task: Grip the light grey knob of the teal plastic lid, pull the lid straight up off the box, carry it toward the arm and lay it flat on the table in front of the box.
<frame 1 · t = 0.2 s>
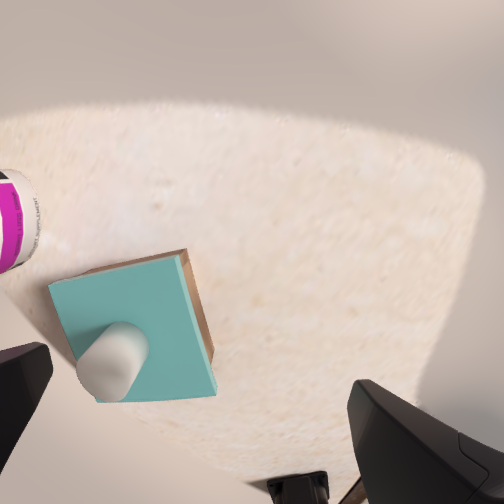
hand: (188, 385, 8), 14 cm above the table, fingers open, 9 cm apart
box: (151, 308, 23), on the table
lid: (132, 336, 18), point 4 cm above the table
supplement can: (15, 216, 21), on the table
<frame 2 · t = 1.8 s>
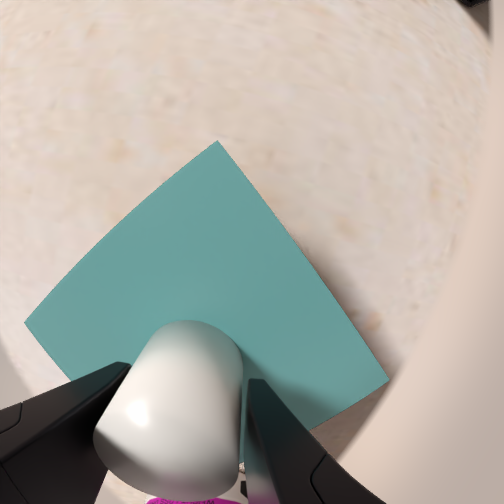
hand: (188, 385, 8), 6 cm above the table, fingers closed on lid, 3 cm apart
lid: (197, 349, 10), point 4 cm above the table, touching gripper
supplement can: (210, 488, 17), on the table
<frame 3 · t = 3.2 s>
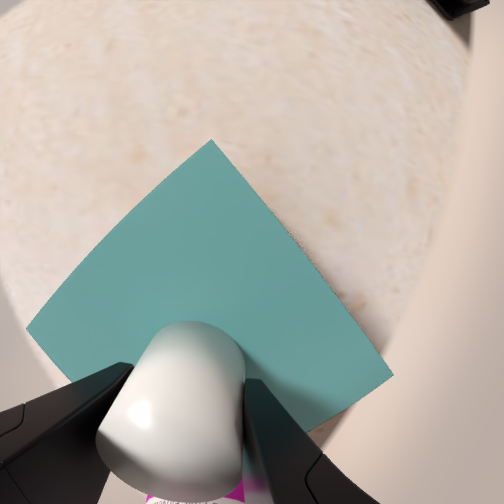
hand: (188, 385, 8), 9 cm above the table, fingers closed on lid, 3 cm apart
lid: (200, 349, 10), point 7 cm above the table, touching gripper
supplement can: (213, 464, 20), on the table
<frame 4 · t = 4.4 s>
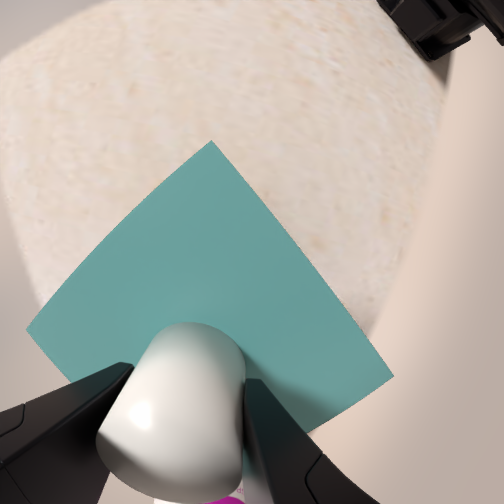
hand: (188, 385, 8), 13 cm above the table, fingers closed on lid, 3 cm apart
lid: (200, 350, 10), point 10 cm above the table, touching gripper
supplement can: (218, 447, 23), on the table
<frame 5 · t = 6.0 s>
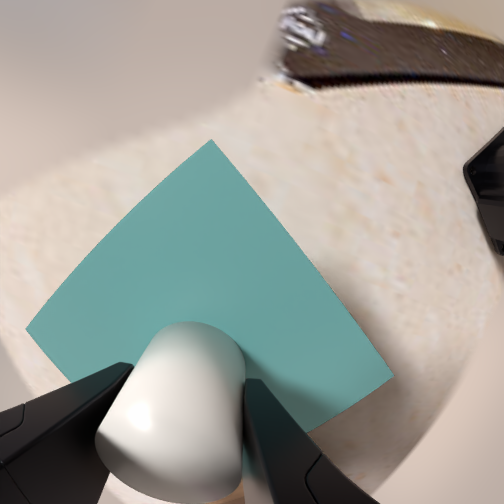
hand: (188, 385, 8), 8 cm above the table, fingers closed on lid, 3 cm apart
box: (267, 476, 19), on the table
lid: (199, 350, 10), point 6 cm above the table, touching gripper
when the fingers open (4 cm above the table, at t = 7.0 s): lid drops 1 cm, point 1 cm above the table.
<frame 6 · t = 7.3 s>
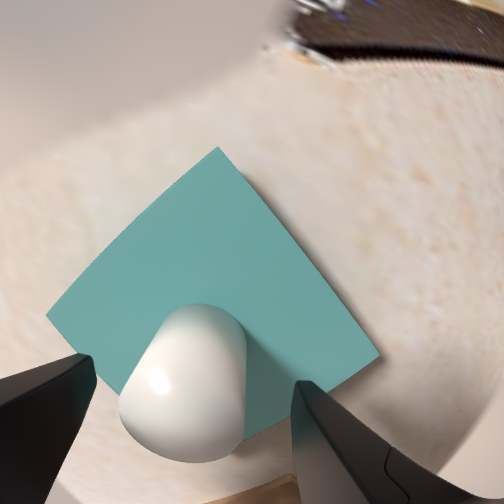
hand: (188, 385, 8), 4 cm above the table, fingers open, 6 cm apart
lid: (206, 331, 11), point 1 cm above the table
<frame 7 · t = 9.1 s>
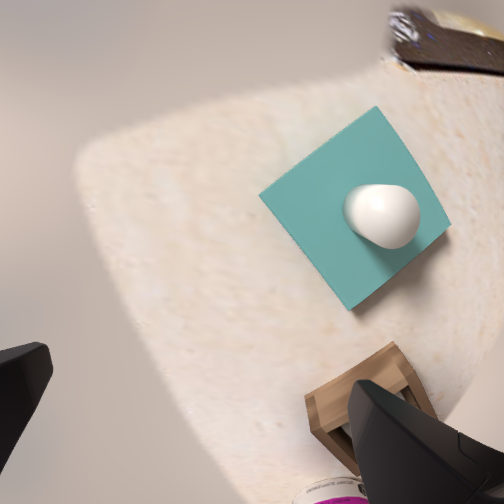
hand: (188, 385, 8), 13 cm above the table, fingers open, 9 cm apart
box: (368, 397, 23), on the table
lid: (361, 208, 18), point 1 cm above the table
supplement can: (328, 492, 26), on the table
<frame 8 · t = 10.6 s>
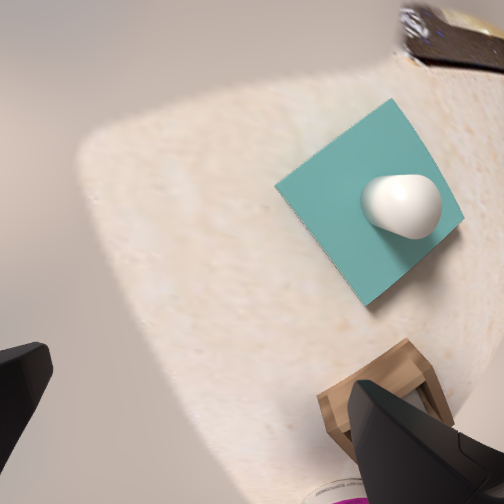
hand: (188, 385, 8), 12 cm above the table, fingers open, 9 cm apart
box: (380, 395, 22), on the table
lid: (377, 200, 18), point 1 cm above the table
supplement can: (337, 494, 25), on the table
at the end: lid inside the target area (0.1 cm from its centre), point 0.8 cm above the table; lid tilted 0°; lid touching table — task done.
